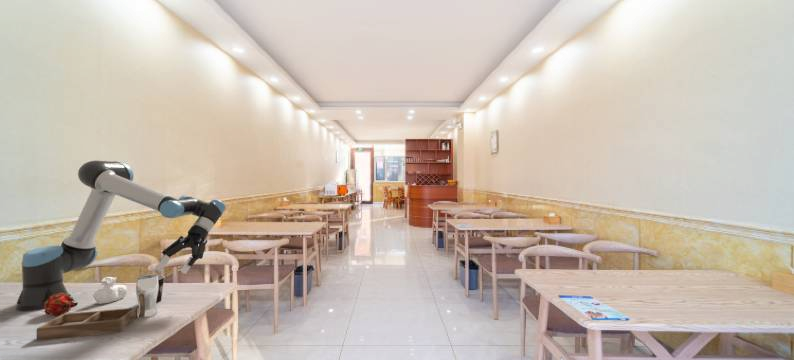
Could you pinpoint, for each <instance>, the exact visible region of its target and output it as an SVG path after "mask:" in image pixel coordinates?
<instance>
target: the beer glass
mask: <svg viewBox="0 0 794 360" xmlns="http://www.w3.org/2000/svg"><path fill="white" fill-rule="evenodd" d="M158 276H159V275H158V274H155V273H151V274H150V273H149V274H143V275H139V276H137V277H136V284H135V293H136V299H137V304H138V311H137V319H148V318H151V317H154V316H156V315H158V310H157V309H158V308H157V303H156V300H157V295H158V288H159V284H158Z"/></svg>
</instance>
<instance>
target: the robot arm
mask: <svg viewBox="0 0 794 360" xmlns="http://www.w3.org/2000/svg"><path fill="white" fill-rule="evenodd" d="M77 177H78V179H79V181H80V182H81V183H82V184H83V185H85V186H86V187H89V188H90V189H91V191H90V192H89V195H88V197H87V199H86V201H85V204H84V206H83V208H82V210H81V212H80V214H79V216H78V219H77V221H76V223H75V225H74V227H73V229H72V231H71V234H70V235H69V236H67V237H65V238H63V240H62V242H61V244H60V245H47V246H43V247H37V248H33V249H31V250H28V251H26V252H25V253H24V254H23V256H22V260H21V268H22V271H21V272H22V273H21V275H22V276H21V277H22V279H21V280H22V290H21V291H20V294H19V296H18V299H17V302H16V304H15V309H16V311H23V312H24V311H36V310H41V309H42V310H43V309H45V308H44V303H45V302H46V300H48V299H49V298H50V297H51V296H52V295H53V294H57V293H64V294H69V292H68V290H67V288H66V286H65V284H64V274H67V273H69V272H73V271H77V270H80V269H84V268H86V267H88V266H90V265H91V264H92V263H94V262H95V260H96V259H97V257H98V250H97V249H98V248H97V243H96V242H95V239H96V237H97V235H98V232H99V230H100V228H101V226H102V224H103V222H104V220H105V218H106V216H107V214H108V211H109V209H110V207H111V205H112V203H113V201H114V199H115V197H116V196H118V197H122V198H124V199H126V200H129V201H131V202H134V203H136V204H139V205H141V206H144V207H147V208H149V209H152V210H154V211H156V212H159V213H160V214H161V216H162V217H164V218H166V219H176V218H179V217H184V216H189V215H190V216H191V215H192V216H195V217H197V219H196V220H195V222H194V223H193V224H192V226H191V227H190V228H189V230H188V231H187V236H182V235H180V236H179V237H178V239H176V240H175V241H174V242H173V243H172V244H170V245H169V246H168V247H166V248H165V249H164V250H163V251H162V252H161V254H163V256H162V257H161V259H160V260H159V261H158V263H157V265H156V266H155V267H154V269H155V270H157V272H162V271H163V269H164V268H165V267H166V265H167V264H168V262H169V261H170V260H171V257H173V256H174V255H175V254H176V255H177V253H179V252H180V251H182V250H185V249H188V248H189V249H191V256H189V257H188V259H187V260H186V262H185V263H184V264H183V266H182V267H181V268H180V270H179V272H180V273H182V274H183V275H186V274H187V273H188V271H190V269H191V267H192V266H193V265H194V264H195V262H196V261H197V260H199V259H200V260H202V259H203V257H204V253H205V249H206V244H207V243H208V240H207V237H208V235H209V233H210V232H211V231H212V230H213V228H214V226H215V225H216V224H217V222H218V221H219V219H220V218H221V217H222V216H223V214H224V212H225V211H226V204H225V203H224V202H223V201H221V200H219V199H211V201H209V202H208V201H204V200H201V199H198V198H195V197H193V196H189V195H182V196H181V197H179V198H175V197H172V196H170V195H168V194H164V193H163V192H161V191H157V190H156V189H152V188H150V187H148V186H145V185H142V184H140V183H138V182H134V181H133V180H134V171H133V169H132V168H131V166H130V165H128V164H127V163H125V162H121V161H110V160H109V161H107V160H91V161H87V162H85V163H83V164H82V165H81V166H80V167H79V169H78V171H77Z"/></svg>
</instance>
